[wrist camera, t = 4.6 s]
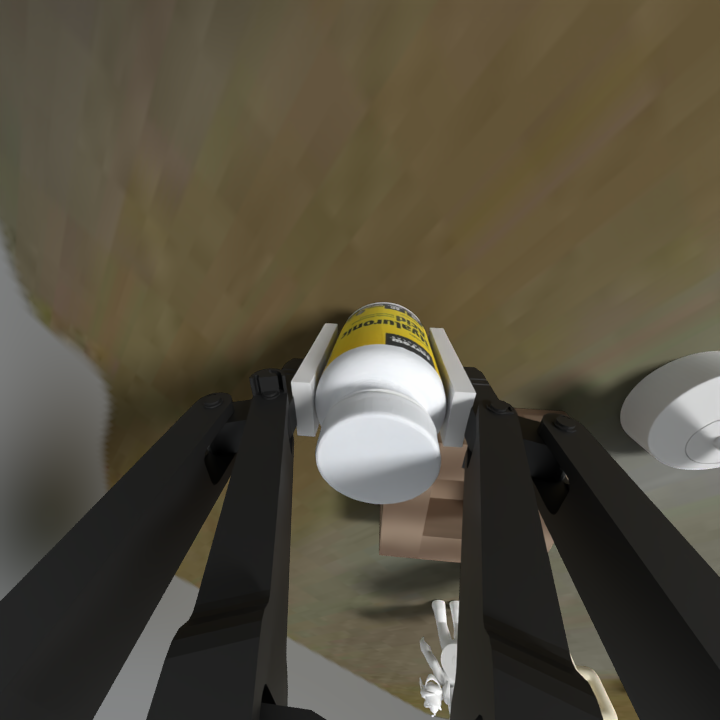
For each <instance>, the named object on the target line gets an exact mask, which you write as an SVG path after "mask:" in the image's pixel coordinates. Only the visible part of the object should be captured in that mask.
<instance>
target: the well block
mask: <svg viewBox="0 0 720 720" xmlns="http://www.w3.org/2000/svg"><path fill="white" fill-rule="evenodd" d="M515 410H516V412H517V414H518V416H520V417H524V418H527V419H531V420H535V421H539V422H541V420H542V418H543V415H545V414H547V413H557V414H563V415H566V416H568V415H567V414H566V413H565V412H564V411H553V410H536V409H519V408H515ZM437 437H438V443H439V449H440V454H441V467H440V471H439V475H438V477H437V478H436V480H435V482H434V483H433V484H432V485H431V486H430V487H429V488H428V489H427V490H426V491H425V492H423V493H422V494H420V495H419V496H417V497H415V498H413V499H410V500H407V501H404V502H399V503H393V504H380V530H379V555H385V556H395V557H406V558H416V559H426V560H437V561H447V562H458V563H461V542H462V519H463V495H464V471H465V468H462V464H463V461H464V457H465V453H466V450H467V446H468V445H467V442H466V439H465V438H464V442H463V445H462V448H461V447H448V446H443V443H442V439H441V435H440V431H439V433H438V434H437ZM566 477H567V476H566ZM567 479H568V478H567ZM538 511H539V510H538ZM539 515H540V520H541V524H542V529H543V534H544V538H545V543H546V547H547V552H549V550H550V548H551V547H552V545H553V543H554V541H553V539H552V537H551V535H550V533H549V531H548V529H547V527H546V525H545V523H544V520H543V518H542V516H541V514H540V512H539Z"/></svg>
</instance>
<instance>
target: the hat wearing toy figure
mask: <svg viewBox="0 0 720 720" xmlns="http://www.w3.org/2000/svg"><path fill="white" fill-rule="evenodd" d="M449 604H450V609H451V613H452V619H453V625H454V640H452V639H451V635H450V632H449V629H448V627H447V620H446V610H445V602H444V601H442V600H434V601H433V602H432V608H433V610H434V614H435V618H436V623H437V629H438V634H439V639H440V644H441V647H442V654H441V663H442V667H443V668H441V667H440V665H439V663H438V660H437V659H436V657H435V656H434V654H433V653H432V649H431V647H430V645H428V644H427V643H426V642H425V641H424V636H423V637H422V639H421V640H420V647H421V651H422V652H423V654H424V656H425V658H426V660H427V662H428V664H429V666H430V667H431V669H432V670H433V673H434V675H432V674H429V675H428V677H427V679H426V683H425V686H424V685H423V684H422V681H421V678H419V679H420V687H421V684H422V686H423V688H422V687H421V692H420V693H421V695H422V697H423V698H425V700H426V701H425V702H424V706H425V707H426V708H427V707H429V708H430V710H431V711H432V712H433V713H434V715H431V716H432V717H434V716H435V713H436V712H437V711H438V709H440V710H441V707H440V706H441V701H442V700H443V698H444V701H445V703H446V704H447V705H448V708H449V713H450V712H451V703H452V696H453V690H454V684H455V676H456V661H457V637H458V613H459V601H451V602H450V603H449ZM429 680H434V681H435V682H437V683H438V685H436V684H434V683H432V682H429V683H428V684H427V682H428V681H429ZM439 684H440V685H442V686H443V687H442V688H441V687H440V685H439ZM442 694H443V697H442Z"/></svg>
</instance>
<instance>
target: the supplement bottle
mask: <svg viewBox="0 0 720 720" xmlns="http://www.w3.org/2000/svg"><path fill="white" fill-rule="evenodd" d="M315 408H316V413H317V417H318V420H319V423H320V425H321V431H320V435H319V438H318V442H317V446H316V452H315V456H316V464H317V467H318V469H319V471H320V473H321V475H322V477H323V478H324V479H325V480H326V482H327V483H328V484H329V485H330V486H332V487H333V488H334V489H335V490H337V491H338V492H340V493H342V494H343V495H345V496H347V497H350V498H352V499H355V500H358V501H362V502H366V503H372V504H393V503H399V502H404V501H407V500H410V499H413V498H415V497H417V496H419V495H420V494H422V493H423V492H425V491H426V490H427V489H428V488H429V487H430V486H431V485H432V484H433V483H434V482H435V480H436V478H437V477H438V475H439V471H440V467H441V454H440V449H439V443H438V437H437V434H438V433H439V431H440V429H441V427H442V425H443V422H444V419H445V413H446V395H445V391H444V386H443V383H442V380H441V377H440V374H439V371H438V368H437V365H436V362H435V359H434V356H433V353H432V350H431V347H430V344H429V341H428V338H427V334H426V332H425V329H424V327H423V325H422V324H421V322H420V320H419V319H418V318H417V317H416V316H415V315H414V314H413V313H412V312H411V311H409V310H408V309H406V308H405V307H403V306H400V305H397V304H394V303H388V302H378V303H372V304H369V305H366V306H364V307H362V308H360V309H358V310H357V311H355V312H354V313H353V314H352V315H351V316H350V317H349V318H348V320H347V321H346V323H345V324H344V326H343V328H342V330H341V332H340V334H339V337H338V339H337V341H336V344H335V346H334V348H333V350H332V352H331V355H330V357H329V359H328V362H327V364H326V366H325V368H324V371H323V373H322V375H321V378H320V380H319V383H318V386H317V390H316V396H315Z"/></svg>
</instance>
